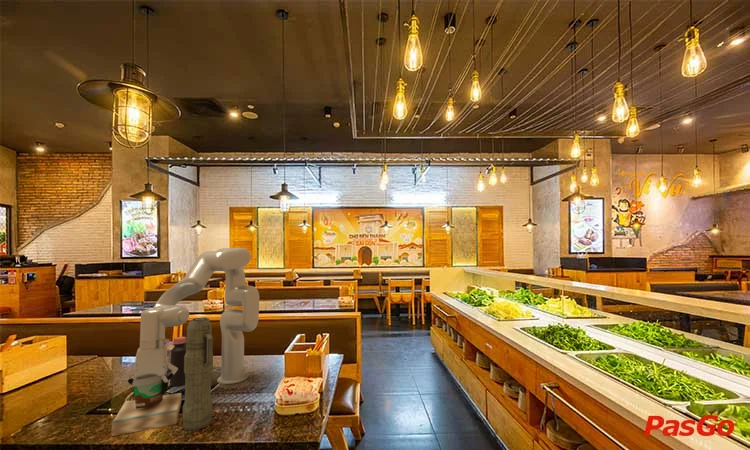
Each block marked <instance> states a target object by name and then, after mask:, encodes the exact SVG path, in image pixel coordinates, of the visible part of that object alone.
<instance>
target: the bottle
mask: <svg viewBox="0 0 750 450" xmlns="http://www.w3.org/2000/svg"><path fill="white" fill-rule="evenodd" d="M172 342H173V344H174V348H173V349H172V350H171V361H170V364H172V365H174V366H175V367H177V368H178V370H177V372H176V373H175V374H174V375H173V377H172V378H171V379H170V380H169V385H170V386H171V387H181V386H185V373H184V356H185V354H186V336H177V337H174V338H173V341H172ZM171 372H172V370H171V369H170V370H169V374H170V373H171Z"/></svg>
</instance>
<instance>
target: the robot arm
mask: <svg viewBox="0 0 750 450" xmlns="http://www.w3.org/2000/svg"><path fill="white" fill-rule="evenodd" d="M251 257H252V256H251V253H250V251H249V250H248V249H247V248H245V247H226V248H225V247H223V248H219V249H218V250H215V251H214V250H213V251H211V250H209V251H204V252H202V253H201V254H200V255H199V256H198V257H197V258H196V260H195V262H194V263H193V265H192V266H191V267H190V269H189V270H188V271H187V273H186V275H185V276H184V277H183V279H181V280H179V281H178V282H176V283H175V284H174V285H172V286H171V287H170V288H168V289H167V290H166V291H164V292H163V294H162V295H161V296H160V297H159V298H158V300H157V301H156V303H155V304H154V306H153V307H152V308H148V309H144V310H142V312H141V314H140V328H139V329H140V332H139V333H140V334H139V347H138V348H137V350H136V355H135V359H134V360H135V361H134V367H133V368H131V369H130V370H129V371H127V372H126V373H125V374H124V375H123V379H124V380H126V381H127V383H128V384H129V385H131V386H132V383H133V380H137V379H145V378H149V377H153V376H156V375H158V376H161V377H162V379H163V384H162V394H163V396H164V395H166V392H167V391H168V390H169V389H168V388H169V387H168V386H169V382H170V379H171V378H172V377H173V375H174V374H175V373H176V372H177V370H178V368H177V367H175V366H174V365H172V364H170V363H169V358H168V348H167V346H166V345H165V344H167V343H169V342H170V339H168V338H166V336H165V335H166V328H167V327H169V328H170V327H179V326H181V325H184V324H186V322H187V321H188V320H189V318H190V312H189V309H188V308H187V307H185V306H183V305H177V304H178V303H179V302H180V301H182V300H184V299H185V298H186V297H189V296H191V295H194V294H196V293H199V292H200V291H202V290H204V288H205V287H206V285H207V284H208V282H209V280H210V279H211V277H212V276H213V275H214V273H215V272H224V274H225V286H224V287H225V288H224V302H225V303H226V305H227V306H229V307H230V306H232V307H240V308H229V309H226V310H225V311H223V312H222V313H221V315H220V318H219V326H220V331H221V365H220V366H221V369H220V370H221V372H220V373H221V375H220V376H219V377H218V378H217V381H216V382H217V383H218V384H219V385H220V384H221V385H234V384H238V383H239V384H240V383H241V382H244V381H245V380H247V379H248V375H249V374H255V368H250V367H249V368H245V364H244V363H245V336H244V333H243V332H246V333H247V332H252V331H255V329H256V328H257V326H258V324H259V318H260V317H259V314H260V313H259V312H260V293H259V289H257V288H256V287H255V286H253V285H246V273H245V270H244V267H246V266H248V265H249V263H250V261H251ZM241 307H242V309H241ZM168 368H169V369H171V370H172V372H171V373H170V372H169V370H168ZM168 372H169V374H168ZM131 375H133V377H132V376H131ZM132 388H134V386H132ZM133 397H135V394H134V390H133Z"/></svg>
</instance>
